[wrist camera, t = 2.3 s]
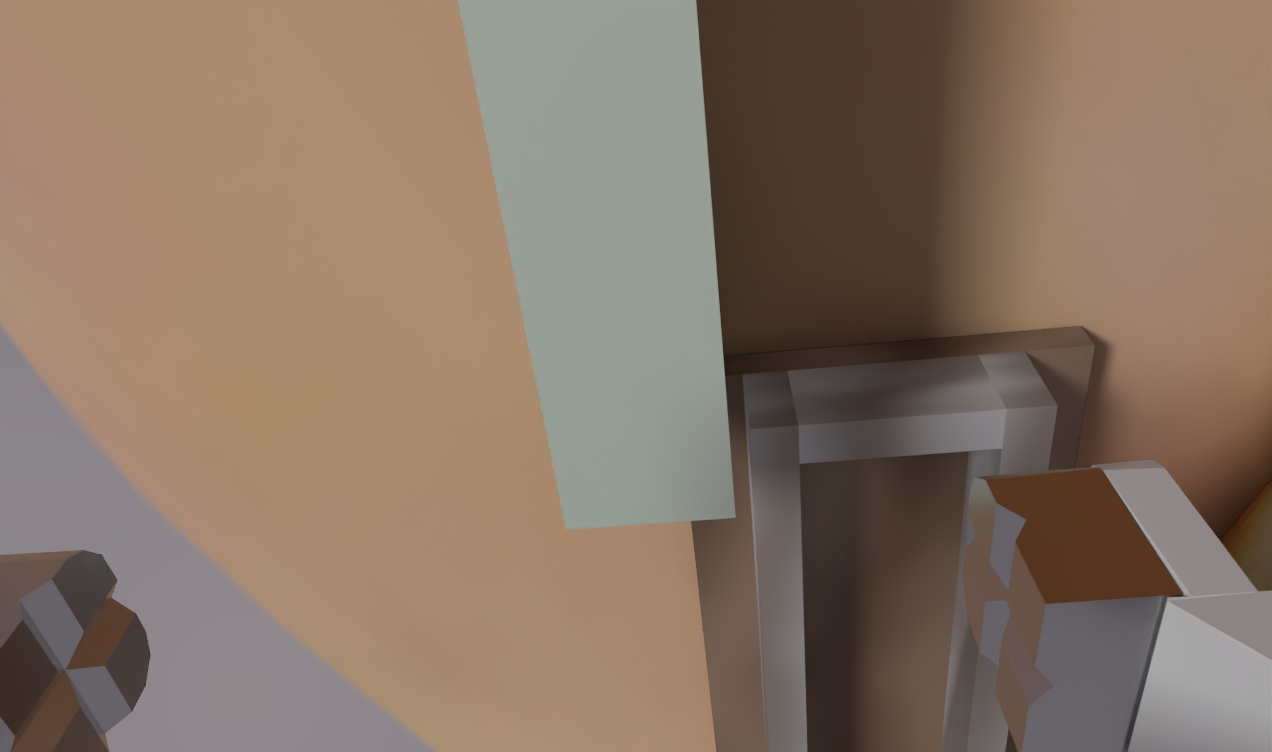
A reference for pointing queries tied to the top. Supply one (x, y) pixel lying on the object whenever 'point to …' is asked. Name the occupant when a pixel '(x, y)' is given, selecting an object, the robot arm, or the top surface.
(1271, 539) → the bread
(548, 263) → the pale green rectangular block
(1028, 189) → the top surface
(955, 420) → the grey rectangular tray
